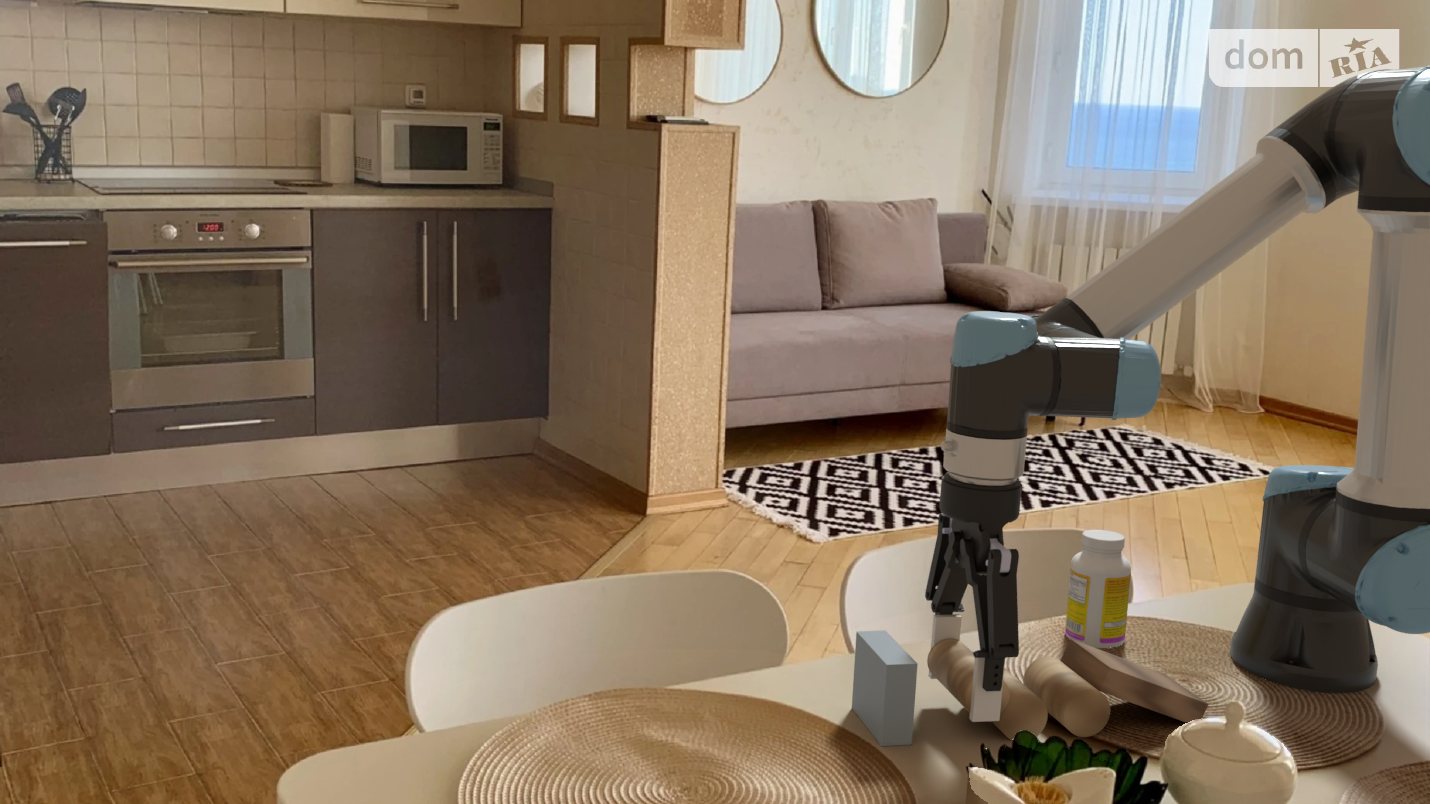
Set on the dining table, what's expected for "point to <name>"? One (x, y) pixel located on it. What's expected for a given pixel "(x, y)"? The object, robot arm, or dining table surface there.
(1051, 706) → the roller
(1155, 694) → the walnut board
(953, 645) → the roller
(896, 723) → the block
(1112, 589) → the supplement bottle
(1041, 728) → the roller
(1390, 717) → the dining table surface
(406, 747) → the dining table surface
